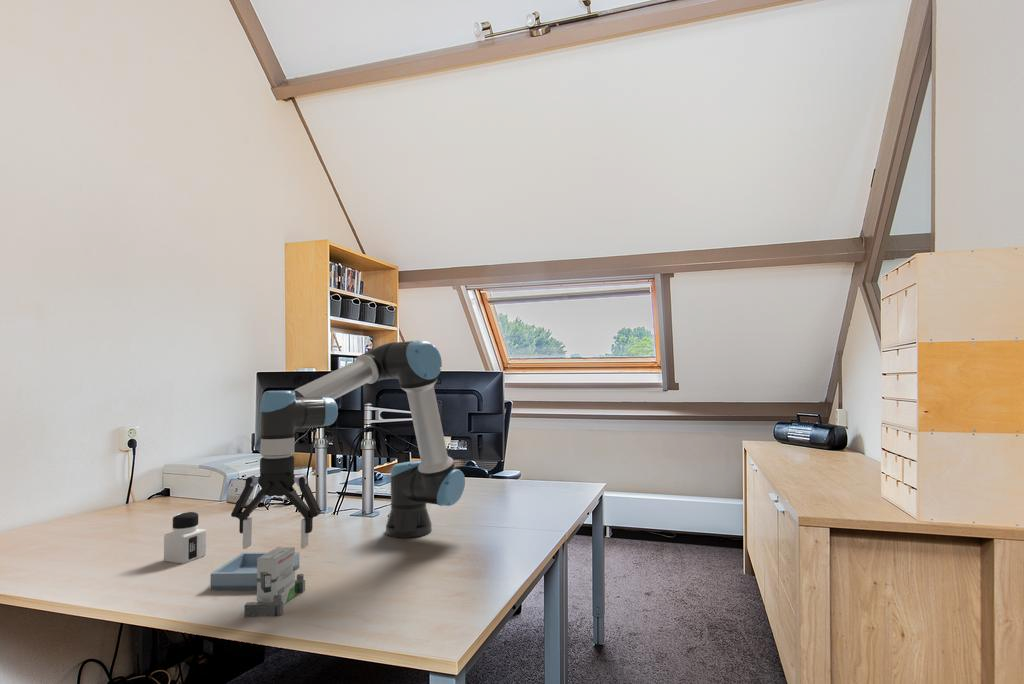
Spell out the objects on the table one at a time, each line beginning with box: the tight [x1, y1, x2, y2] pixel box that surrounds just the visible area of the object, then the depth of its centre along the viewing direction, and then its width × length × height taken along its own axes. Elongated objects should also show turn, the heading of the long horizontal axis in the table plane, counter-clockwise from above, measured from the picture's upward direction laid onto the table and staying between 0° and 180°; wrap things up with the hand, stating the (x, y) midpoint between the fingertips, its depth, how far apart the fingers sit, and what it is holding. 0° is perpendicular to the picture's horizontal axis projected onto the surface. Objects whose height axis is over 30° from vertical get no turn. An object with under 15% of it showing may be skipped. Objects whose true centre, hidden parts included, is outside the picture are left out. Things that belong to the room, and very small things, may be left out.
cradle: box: [243, 573, 306, 617], centre depth 131 cm, size 8×15×4 cm, turn 179°
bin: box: [210, 551, 300, 591], centre depth 147 cm, size 16×16×4 cm
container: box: [163, 511, 207, 565], centre depth 164 cm, size 8×8×13 cm
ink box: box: [256, 546, 296, 606], centre depth 131 cm, size 9×5×12 cm, turn 171°
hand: (275, 547), depth 132 cm, fingers open, 13 cm apart
